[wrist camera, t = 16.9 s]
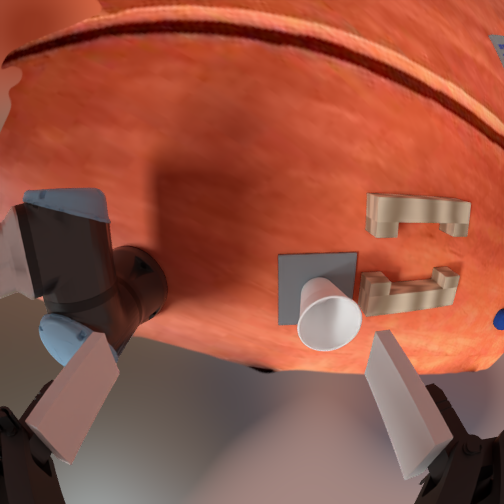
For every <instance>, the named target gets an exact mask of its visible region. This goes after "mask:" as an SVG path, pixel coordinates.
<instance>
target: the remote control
mask: <svg viewBox="0 0 504 504" xmlns="http://www.w3.org/2000/svg"><path fill="white" fill-rule="evenodd" d="M489 38H490V40H491V41H492V43H493V45H494V47H495V49H496V52H497V54H498V56H499V58H500V60H501V62H502V65H503V67H504V36H500V35H489Z"/></svg>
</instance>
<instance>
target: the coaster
mask: <svg viewBox="0 0 504 504" xmlns="http://www.w3.org/2000/svg"><path fill="white" fill-rule="evenodd" d="M356 261H357V252H339V253H309V254H278V325H296V324H298V321H299V318H300V304H301V291H302V288H303V286H304V285H305V283H307V282H308V281H309V280H311V279H313V278H317V277H322V278H326V279H328V280H329V281H331V282H332V283H333V284H334V285H335V286H336V287H337V288H338V289H339V290H340V291H342V292H343V293H344V294H345V295H346V296H347V297H348V298H350V299H352V297H353V289H354V280H355V271H356Z"/></svg>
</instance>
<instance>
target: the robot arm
mask: <svg viewBox="0 0 504 504" xmlns="http://www.w3.org/2000/svg"><path fill="white" fill-rule="evenodd" d="M23 202H24V203H23V204H19V205H16V206H12V207H11V208H10V210H9V212H8V214H7V215H6V217H5V219H4V220H3V221H2V222H1V223H0V298H3V297H5V296H8V295H11V294H13V293H16V292H18V293H22V294H23V295H25V296H27V297H29V298H30V299H32V300H33V299H36V298H38V297H41V296H43V299H44V302H45V306H46V309H47V314H46V315H44V316H43V318H42V320H41V322H40V326H39V333H40V337H41V340H42V341H43V344H44V345H45V347H46V348H47V350H48V351H49V353H50V354H51V355H52V356H53V357H54V358H55V359H56V360H57V361H58V362H59V363H60V364H62V365H63V366H64V368H63V370H62V371H61V372H60V374H59V375H58V376H57V377H56V379H55V380H51V381H50V382H48V383H47V384H45V385H44V387H43V388H42V389H41V390H40V392H39V394H37V396H36V397H35V400H33V401H32V403H31V404H30V405H29V407H28V408H27V409H26V411H25V412H24V414H23V415H22V417H21V418H20V419H19V420H18V419H17V418H16V417H15V415H14V414H13V413H12V411H11V410H10V409H9V408H8V407H6V406H2V407H0V504H65V501H64V498H63V495H62V492H61V488H60V485H59V482H58V478H57V475H56V471H55V467H54V463H53V460H52V458H51V457H50V455H51V453H53V454H54V455H55V456H56V457H57V458H58V459H59V460H61V461H63V462H65V463H68V464H70V465H71V464H72V462H73V460H74V458H75V456H76V454H77V452H78V450H79V448H80V446H81V444H82V442H83V440H84V438H85V436H86V434H87V432H88V431H89V429H90V427H91V425H92V423H93V421H94V419H95V417H96V415H97V413H98V412H99V410H100V408H101V406H102V404H103V402H104V401H105V399H106V397H107V395H108V393H109V392H110V390H111V388H112V386H113V384H114V383H115V381H116V379H117V377H118V375H119V374H120V372H119V370H118V367H117V365H116V363H117V361H118V358H119V356H120V355H121V353H122V351H123V350H124V348H125V346H126V345H127V343H128V342H129V340H130V338H131V337H132V335H133V334H134V332H135V330H136V329H137V327H138V326H139V325H141V324H142V323H144V322H146V321H148V320H150V319H152V318H153V317H154V316H156V315H157V314H158V312H159V311H160V310H161V308H162V306H163V305H164V303H165V301H166V297H167V282H166V279H165V276H164V273H163V271H162V269H161V268H160V266H159V265H158V263H157V262H156V261H155V260H154V259H153V258H152V257H151V256H150V255H148V254H147V253H145V252H144V251H142V250H140V249H137V248H134V247H129V246H123V247H118V248H115V249H112V241H111V232H110V223H111V221H110V219H109V217H108V210H107V202H106V197H105V195H104V193H103V192H102V191H101V190H99V189H97V188H61V189H41V190H28V191H26V192H25V193H24V197H23ZM365 376H366V378H367V381H368V383H369V386H370V388H371V390H372V393H373V395H374V398H375V400H376V403H377V405H378V408H379V411H380V413H381V415H382V418H383V421H384V423H385V426H386V429H387V431H388V434H389V437H390V440H391V442H392V445H393V448H394V451H395V453H396V456H397V459H398V462H399V465H400V468H401V471H402V474H403V477H404V480H406V479H409V478H412V477H414V476H417V475H420V474H422V472H424V471H425V469H426V468H427V467H428V470H429V472H430V473H429V474H428V475H427V476H426V477H425V478H424V479H423V480H422V481H421V482H420V485H422V484H423V483H424V485H423V487H422V489H421V491H420V493H419V495H418V498H417V500H416V501H415V503H414V504H504V430H503V431H502V432H501V433H500V435H499V436H498V437H494V438H489V439H483V440H482V439H480V438H479V437H478V436H476V435H469V434H468V433H467V431H466V430H465V428H464V426H463V425H462V423H461V421H460V419H459V417H458V416H457V414H456V412H455V411H454V409H453V408H452V407H451V404H450V402H449V401H448V400H447V397H446V396H445V394H444V392H443V391H442V390H441V389H440V388H439V387H437V386H436V385H434V384H430V385H426V386H425V385H424V384H423V382H422V380H421V379H420V377H419V375H418V374H417V372H416V370H415V369H414V367H413V365H412V364H411V362H410V361H409V359H408V358H407V356H406V354H405V353H404V351H403V350H402V348H401V347H400V345H399V343H398V342H397V340H396V339H395V337H394V336H393V334H392V333H391V331H390V330H384V331H376V332H375V335H374V340H373V344H372V348H371V352H370V356H369V360H368V363H367V367H366V371H365Z"/></svg>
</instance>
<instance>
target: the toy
mask: <svg viewBox="0 0 504 504" xmlns="http://www.w3.org/2000/svg"><path fill="white" fill-rule="evenodd" d="M493 325H494V326H495V327H496V328H497V329H498V330H504V309H501V310H499V311H498V312H497V314H496V316H495V318H494V321H493Z"/></svg>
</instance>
